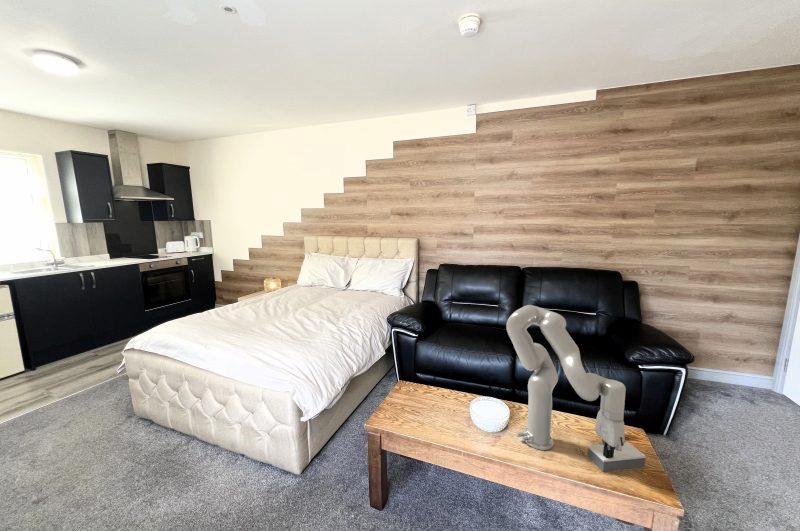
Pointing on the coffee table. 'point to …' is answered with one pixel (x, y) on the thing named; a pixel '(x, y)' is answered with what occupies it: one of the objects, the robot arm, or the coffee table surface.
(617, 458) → the panel
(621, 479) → the coffee table surface
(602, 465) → the grey rectangular box
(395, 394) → the coffee table surface
